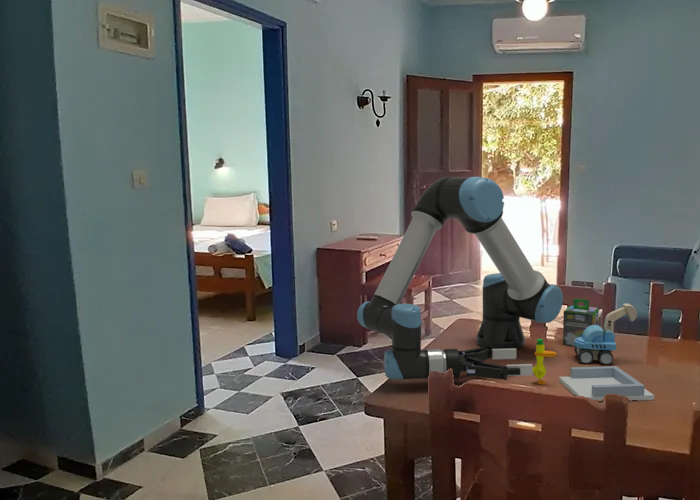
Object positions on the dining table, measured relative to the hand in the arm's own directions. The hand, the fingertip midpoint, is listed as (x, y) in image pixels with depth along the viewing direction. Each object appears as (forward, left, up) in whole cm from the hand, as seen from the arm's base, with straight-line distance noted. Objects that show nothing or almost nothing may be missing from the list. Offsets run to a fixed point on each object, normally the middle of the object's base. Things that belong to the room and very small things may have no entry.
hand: (523, 361), depth 165 cm
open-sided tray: (+19, +6, -6) cm, 21 cm away
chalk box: (+4, +46, -7) cm, 47 cm away
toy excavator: (+14, +31, -7) cm, 35 cm away
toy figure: (+4, +3, -7) cm, 8 cm away
